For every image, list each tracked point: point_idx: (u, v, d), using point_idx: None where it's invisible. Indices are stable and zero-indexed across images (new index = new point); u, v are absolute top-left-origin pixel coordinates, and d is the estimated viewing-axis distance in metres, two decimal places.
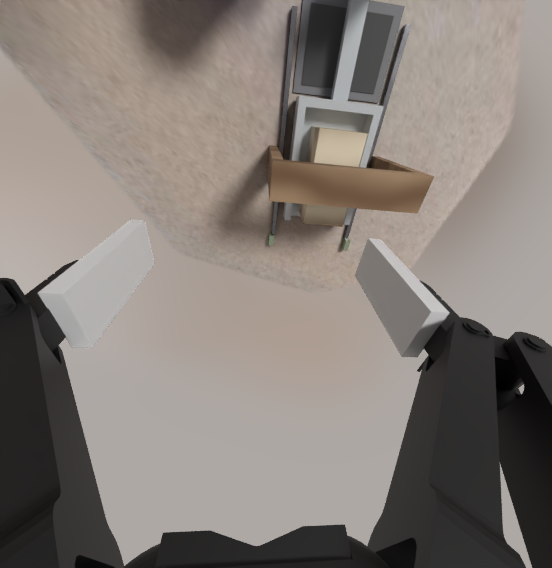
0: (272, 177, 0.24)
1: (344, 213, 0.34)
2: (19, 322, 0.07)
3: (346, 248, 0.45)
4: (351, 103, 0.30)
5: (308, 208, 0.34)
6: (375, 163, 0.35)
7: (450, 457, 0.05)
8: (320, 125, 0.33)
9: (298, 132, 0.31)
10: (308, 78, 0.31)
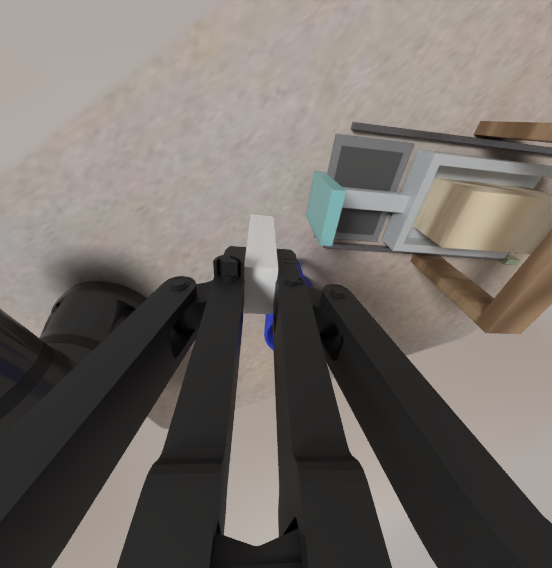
0: (499, 332, 0.24)
1: None
2: (235, 291, 0.09)
3: None
4: (417, 196, 0.26)
5: (521, 250, 0.27)
6: (494, 136, 0.24)
7: (302, 411, 0.05)
8: (416, 217, 0.30)
9: (422, 249, 0.30)
10: (370, 229, 0.32)
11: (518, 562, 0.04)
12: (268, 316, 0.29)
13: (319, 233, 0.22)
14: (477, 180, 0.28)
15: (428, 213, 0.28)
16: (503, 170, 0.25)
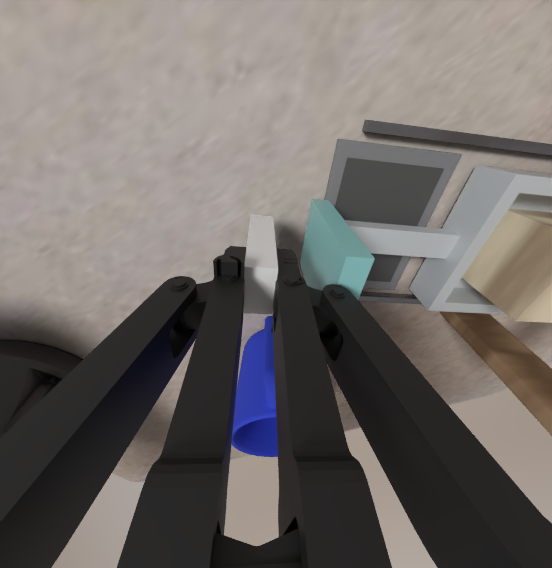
0: None
1: None
2: (235, 291, 0.09)
3: None
4: (475, 239, 0.16)
5: None
6: None
7: (302, 412, 0.05)
8: None
9: (470, 308, 0.20)
10: (386, 274, 0.22)
11: (518, 563, 0.04)
12: (235, 410, 0.19)
13: None
14: None
15: (485, 260, 0.18)
16: None
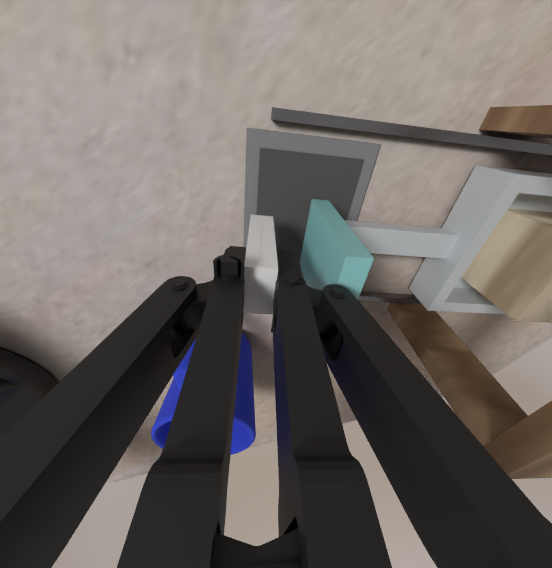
0: (523, 477, 0.13)
1: None
2: (235, 291, 0.09)
3: None
4: (475, 239, 0.16)
5: None
6: (514, 132, 0.14)
7: (302, 411, 0.05)
8: None
9: (470, 308, 0.20)
10: None
11: (518, 562, 0.04)
12: (160, 409, 0.19)
13: None
14: None
15: (485, 260, 0.19)
16: None
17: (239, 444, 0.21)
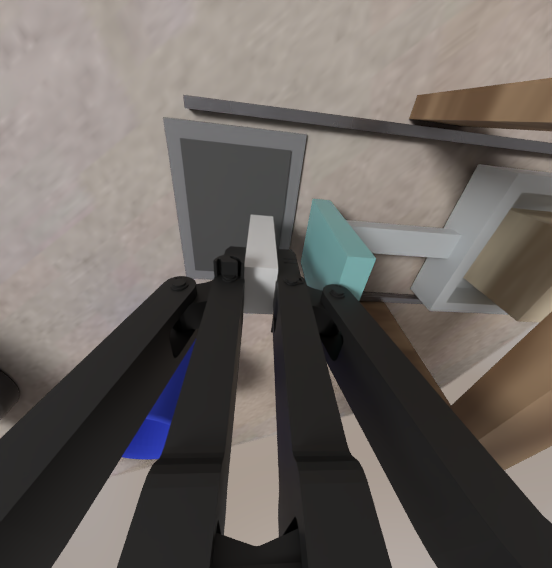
0: None
1: None
2: (235, 291, 0.09)
3: None
4: (477, 239, 0.16)
5: None
6: (438, 120, 0.14)
7: (302, 412, 0.05)
8: None
9: (472, 308, 0.20)
10: None
11: (517, 562, 0.04)
12: None
13: None
14: None
15: (487, 260, 0.18)
16: None
17: None
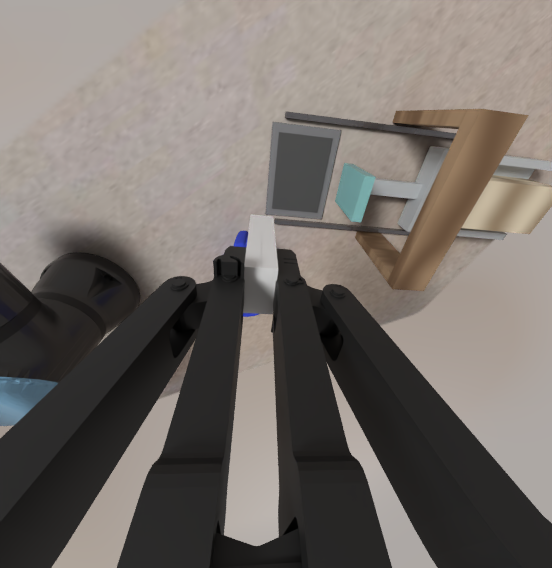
0: (405, 288, 0.28)
1: (549, 189, 0.29)
2: (235, 291, 0.09)
3: None
4: (429, 184, 0.31)
5: (516, 230, 0.32)
6: (405, 123, 0.29)
7: (302, 412, 0.05)
8: None
9: None
10: (314, 207, 0.36)
11: (518, 562, 0.04)
12: None
13: (351, 212, 0.28)
14: None
15: None
16: (501, 163, 0.30)
17: None
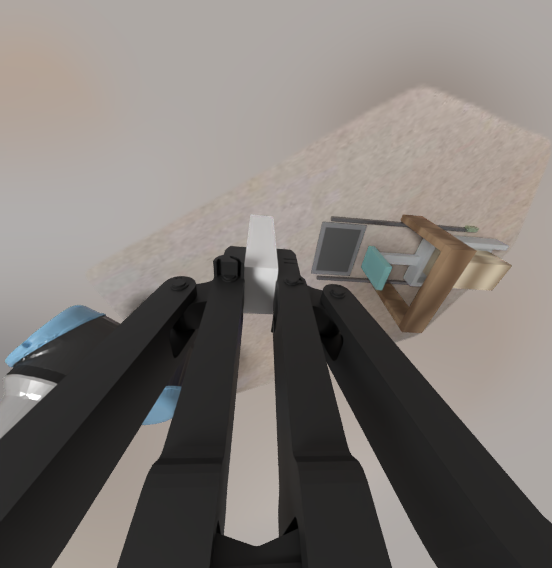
0: (410, 331, 0.44)
1: (501, 266, 0.45)
2: (235, 291, 0.09)
3: (476, 229, 0.47)
4: (425, 259, 0.47)
5: (483, 288, 0.48)
6: None
7: (302, 412, 0.05)
8: None
9: None
10: (345, 268, 0.52)
11: (518, 563, 0.04)
12: None
13: (375, 283, 0.43)
14: None
15: (431, 266, 0.49)
16: (471, 246, 0.46)
17: None
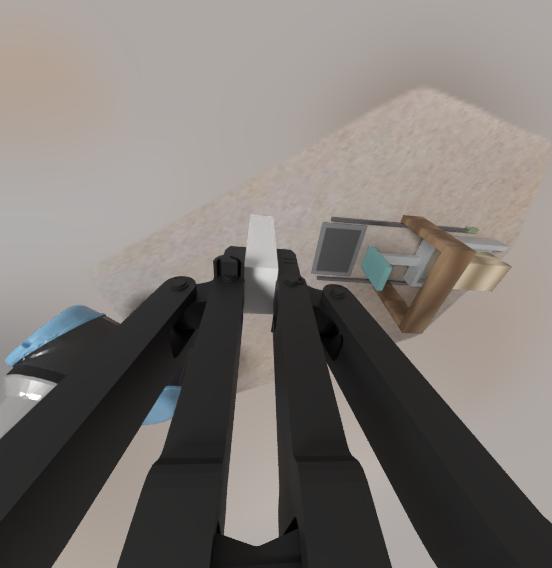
0: (410, 332, 0.44)
1: (501, 267, 0.45)
2: (235, 291, 0.09)
3: (476, 230, 0.47)
4: (425, 260, 0.47)
5: (482, 289, 0.48)
6: None
7: (302, 412, 0.05)
8: None
9: None
10: (345, 269, 0.52)
11: (518, 562, 0.04)
12: None
13: (375, 284, 0.44)
14: None
15: (431, 266, 0.49)
16: (471, 247, 0.46)
17: None
